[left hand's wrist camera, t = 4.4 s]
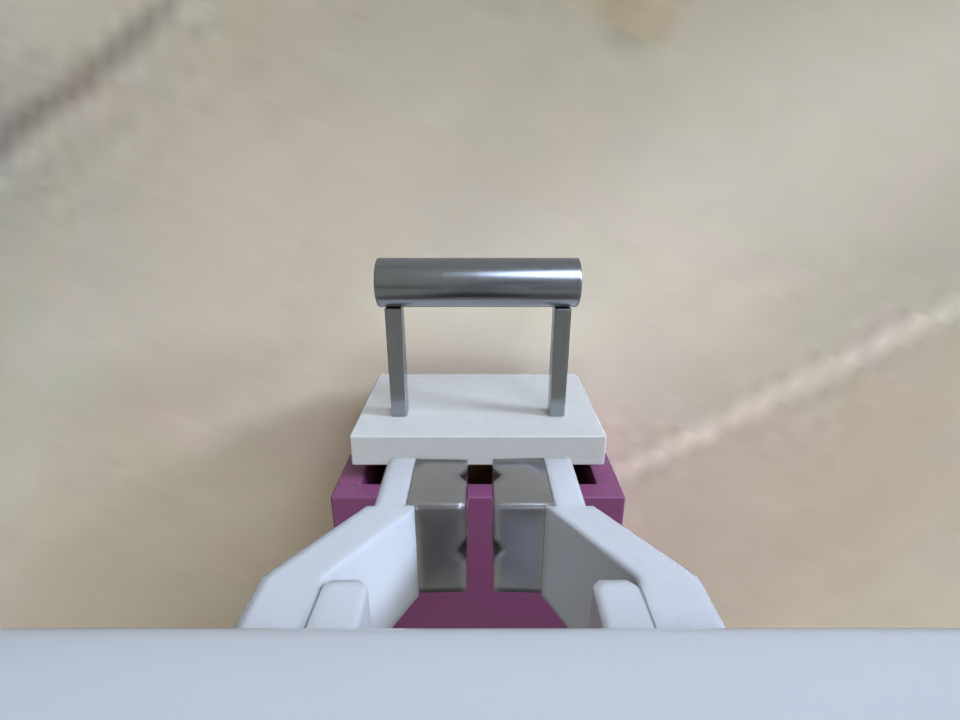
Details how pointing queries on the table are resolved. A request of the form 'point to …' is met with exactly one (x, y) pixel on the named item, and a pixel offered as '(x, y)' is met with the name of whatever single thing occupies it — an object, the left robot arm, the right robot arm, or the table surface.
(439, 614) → the cabinet
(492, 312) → the table surface
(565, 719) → the left robot arm
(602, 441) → the drawer
